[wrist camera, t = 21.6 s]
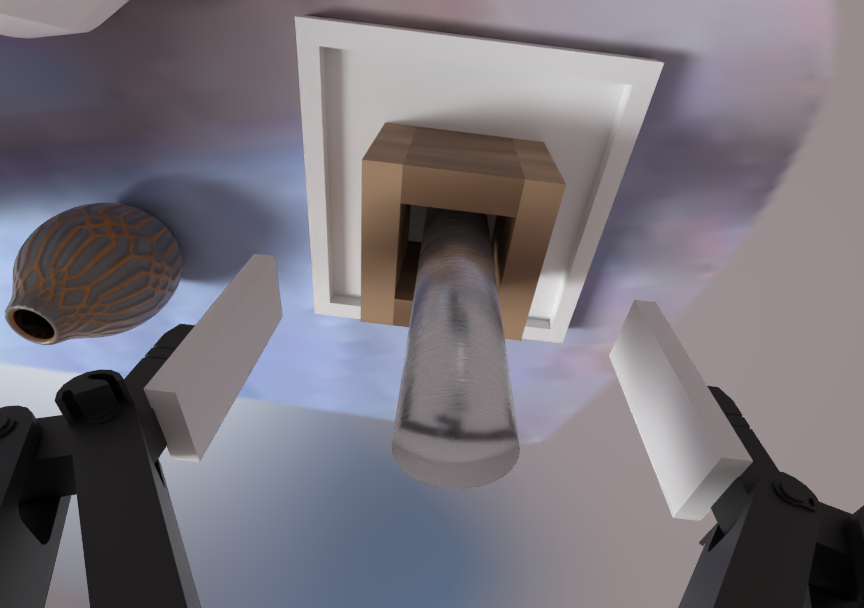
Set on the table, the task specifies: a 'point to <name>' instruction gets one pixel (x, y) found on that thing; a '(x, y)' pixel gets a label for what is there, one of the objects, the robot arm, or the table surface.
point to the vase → (92, 274)
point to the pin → (455, 362)
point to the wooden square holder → (456, 190)
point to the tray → (472, 113)
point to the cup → (54, 16)
